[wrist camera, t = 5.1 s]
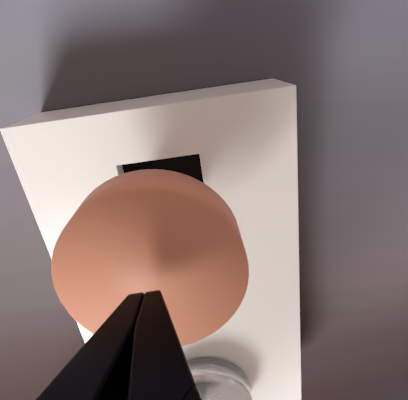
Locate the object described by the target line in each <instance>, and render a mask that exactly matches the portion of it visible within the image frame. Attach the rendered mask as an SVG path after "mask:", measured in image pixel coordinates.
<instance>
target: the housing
mask: <svg viewBox="0 0 408 400" xmlns="http://www.w3.org/2000/svg"><path fill="white" fill-rule="evenodd" d="M0 131H1V134H2V136H3V139H4V141H5V144H6V146H7V149H8V151H9V154H10V156H11V159H12V161H13V164H14V166H15V169H16V171H17V174H18V176H19V179H20V181H21V184H22V186H23V189H24V191H25V194H26V196H27V199H28V201H29V204H30V206H31V209H32V211H33V214H34V216H35V219H36V221H37V224H38V226H39V229H40V231H41V234H42V236H43V239H44V241H45V244H46V246H47V249H48V251H49V254H50V256H51V259H52V255H53V250H54V247H55V244H56V242H57V239H58V237H59V236H60V234H61V232H62V230H63V229H64V227H65V226H66V224H67V223H68V222H69V220H70V219H71V217H72V216H73V215H74V213H75V212H76V210H77V209H78V208H79V206H80V205H81V203H82V202H83V201H84V200H85V198H86V197H87V196H88V195H89V194H90V193H91V192H92V191H93V190H94V189H95V188H97V187H98V186H100V185H101V184H102V183H104V182H105V181H107V180H109V179H111V178H113V177H115V176H118V175H121V174H124V171H123V167H122V165H124V164H131V163H138V162H145V161H152V160H159V159H166V158H173V157H180V156H187V155H194V154H199V156H200V163H201V169H202V176H203V183H204V184H206V185H208V186H209V187H210V188H211V189H213V190H214V191H215V192H217V193H218V194H219V195H220V197H221V198H222V199H223V200H224V201H225V202H226V203H227V205H228V206H229V208H230V209H231V211H232V213H233V215H234V216H235V218H236V221H237V224H238V227H239V230H240V234H241V237H242V241H243V244H244V248H245V251H246V255H247V259H248V265H249V279H248V286H247V290H246V293H245V296H244V298H243V300H242V302H241V305H240V306H239V308H238V309H237V311H236V312H235V314H234V315H233V316H232V317H231V318H230V319H229V321H228V322H227V323H225V324H224V325H223V326H222V327H221V328H220V329H218V330H217V331H215V332H214V333H212V334H211V335H209V336H207V337H205V338H203V339H202V340H199V341H197V342H194V343H192V344H188V345H185V346H182V349H183V351H184V354H185V357H186V359H187V360H190V359H195V358H203V357H210V358H218V359H223V360H226V361H229V362H231V363H233V364H235V365H237V366H238V367H239V368H241V369H242V370H243V371H244V372H245V374H246V375H247V377H248V380H249V384H250V390H251V395H252V400H301V351H300V287H299V224H298V161H297V98H296V85H294V84H290V83H287V82H284V81H280V80H277V79H273V78H271V79H264V80H257V81H250V82H243V83H237V84H230V85H223V86H216V87H210V88H203V89H196V90H189V91H182V92H176V93H169V94H162V95H155V96H149V97H142V98H135V99H128V100H121V101H115V102H108V103H101V104H94V105H88V106H81V107H74V108H67V109H60V110H54V111H47V112H41V113H38V114H36V115H33V116H31V117H28V118H26V119H23V120H21V121H18V122H16V123H13V124H11V125H8V126H6V127H3V128H1V129H0ZM76 322H77V321H76ZM77 324H78V327H79V329H80V332H81V334H82V337H83V339H84V342H85V343H86V342H87V341H88V340H89V339H90V338H91V336H92V335H93V333H91V332H90V331H88V330H87V329H86V328H84V327H83V326H82V325H80V324H79V323H78V322H77Z"/></svg>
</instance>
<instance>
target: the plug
mask: <svg viewBox="0 0 408 400" xmlns="http://www.w3.org/2000/svg"><path fill="white" fill-rule="evenodd" d="M187 362H188V365H189V368H190V370H191V373H192V376H193V378H194V381H195V384H196V387H197V389H198V391H199V394H200V396H201V399H202V400H252V395H251V390H250V384H249V380H248V377H247V375H246V374H245V372H244V371H243V370H242V369H241V368H239V367H238V366H237V365H235V364H233V363H231V362H229V361H226V360H223V359H218V358H210V357H203V358H195V359H190V360H187Z"/></svg>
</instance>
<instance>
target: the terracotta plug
mask: <svg viewBox="0 0 408 400" xmlns="http://www.w3.org/2000/svg"><path fill="white" fill-rule="evenodd" d="M51 273H52V279H53V284H54V287H55V290H56V293H57V295H58V297H59V299H60V301H61V303H62V304H63V306H64V307H65V309H66V310H67V312H68V313H69V314H70V315H71V316H72V317H73V318H74V319H75V320H76V321H77V322H78V323H79V324H80V325H82V326H83V327H84V328H86V329H87V330H88V331H90V332H91V333H93V334H94V333H95V332H96V331H97V330H98V328H99V327H100V326H101V325H102V324H103V323H104V322H105V321H106V319H107V318H108V317H109V316H110V315H111V314H112V313H113V311H114V310H115V309H116V308H117V307H118V306H119V305H120V303H121V302H122V301H123V300H124V299H125V298H126V297H127V296H128V295H129V294H134V293H141V292H143V293H144V294H145V293H146V292H148V291H155V290H160V291H161V293H162V295H163V298H164V301H165V303H166V306H167V309H168V311H169V314H170V317H171V319H172V322H173V325H174V327H175V330H176V333H177V335H178V338H179V341H180V343H181V346H185V345H188V344H192V343H194V342H197V341H199V340H202V339H203V338H205V337H207V336H209V335H211V334H212V333H214V332H215V331H217V330H218V329H220V328H221V327H222V326H223V325H224V324H225V323H227V322H228V321H229V319H230V318H231V317H232V316H233V315H234V314H235V312H236V311H237V309H238V308H239V306H240V305H241V302H242V300H243V298H244V296H245V293H246V290H247V286H248V279H249V265H248V259H247V255H246V251H245V248H244V244H243V241H242V237H241V234H240V230H239V227H238V224H237V221H236V218H235V216H234V215H233V213H232V211H231V209H230V208H229V206H228V205H227V203H226V202H225V201H224V200H223V199H222V198H221V197H220V195H219V194H218V193H217V192H215V191H214V190H213V189H211V188H210V187H209V186H208V185H206V184H204V183H203V182H201V181H199V180H197V179H195V178H193V177H191V176H188V175H185V174H182V173H179V172H175V171H169V170H163V169H145V170H136V171H131V172H127V173H124V174H121V175H118V176H115V177H113V178H111V179H109V180H107V181H105V182H104V183H102V184H101V185H100V186H98V187H97V188H95V189H94V190H93V191H92V192H91V193H90V194H89V195H88V196H87V197H86V198H85V200H84V201H83V202H82V203H81V205H80V206H79V208H78V209H77V210H76V212H75V213H74V215H73V216H72V217H71V219H70V220H69V222H68V223H67V224H66V226H65V227H64V229H63V230H62V232H61V234H60V236H59V237H58V239H57V242H56V244H55V247H54V250H53V255H52V261H51Z"/></svg>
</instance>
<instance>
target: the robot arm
mask: <svg viewBox="0 0 408 400" xmlns="http://www.w3.org/2000/svg"><path fill="white" fill-rule="evenodd" d="M36 400H202V399H201V396H200V394H199V391H198V389H197V387H196V384H195V381H194V378H193V376H192V373H191V370H190V368H189V365H188V362H187V359H186V357H185V354H184V351H183V349H182V346H181V343H180V341H179V338H178V335H177V333H176V330H175V327H174V325H173V322H172V319H171V317H170V314H169V311H168V309H167V306H166V303H165V301H164V298H163V295H162V293H161V291H160V290H155V291H148V292H146V293H145V294H144V293H143V292H141V293H134V294H129V295H128V296H127V297H126V298H125V299H124V300H123V301H122V302H121V303H120V305H119V306H118V307H117V308H116V309H115V310H114V311H113V313H112V314H111V315H110V316H109V317H108V318H107V319H106V321H105V322H104V323H103V324H102V325H101V326H100V327H99V328H98V330H97V331H96V332H95V333H94V334H93V335H92V336H91V338H90V339H89V340H88V341H87V342H86V343H85V344H84V345H83V347H82V348H81V349H80V350H79V351H78V352H77V353H76V355H75V356H74V357H73V358H72V359H71V360H70V361H69V363H68V364H67V365H66V366H65V367H64V368H63V369H62V370H61V372H60V373H59V374H58V375H57V376H56V377H55V378H54V380H53V381H52V382H51V383H50V384H49V385H48V386H47V387H46V389H45V390H44V391H43V392H42V393H41V394H40V395H39V397H38V398H37V399H36Z"/></svg>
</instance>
